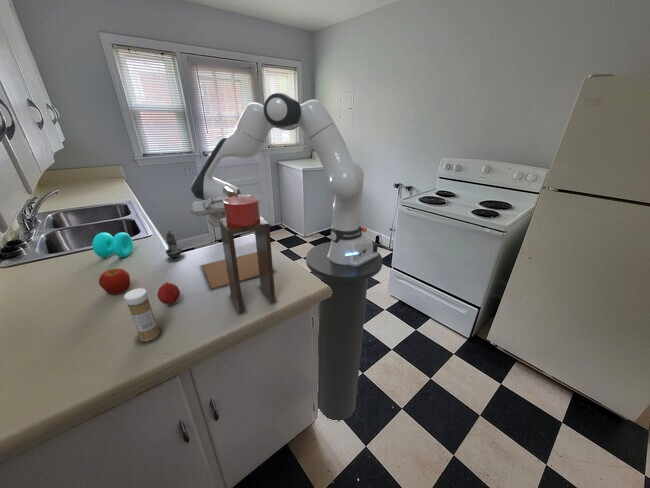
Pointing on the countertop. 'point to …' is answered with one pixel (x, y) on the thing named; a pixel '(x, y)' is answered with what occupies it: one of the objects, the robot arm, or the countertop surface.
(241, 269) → the mat
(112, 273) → the apple
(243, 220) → the saucepan
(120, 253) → the donuts
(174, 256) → the grey statuette
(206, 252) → the countertop surface
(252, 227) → the shelf
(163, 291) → the onion
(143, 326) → the spice jar
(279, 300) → the countertop surface
